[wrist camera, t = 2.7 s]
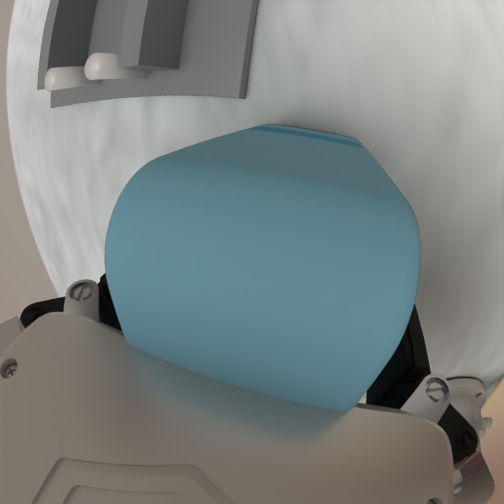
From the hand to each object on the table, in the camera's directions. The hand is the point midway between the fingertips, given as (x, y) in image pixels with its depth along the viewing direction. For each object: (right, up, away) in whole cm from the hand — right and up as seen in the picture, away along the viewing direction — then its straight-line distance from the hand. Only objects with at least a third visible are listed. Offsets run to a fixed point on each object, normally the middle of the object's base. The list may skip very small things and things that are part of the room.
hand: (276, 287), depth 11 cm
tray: (-8, +19, -2) cm, 21 cm away
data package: (+2, +3, +5) cm, 6 cm away
